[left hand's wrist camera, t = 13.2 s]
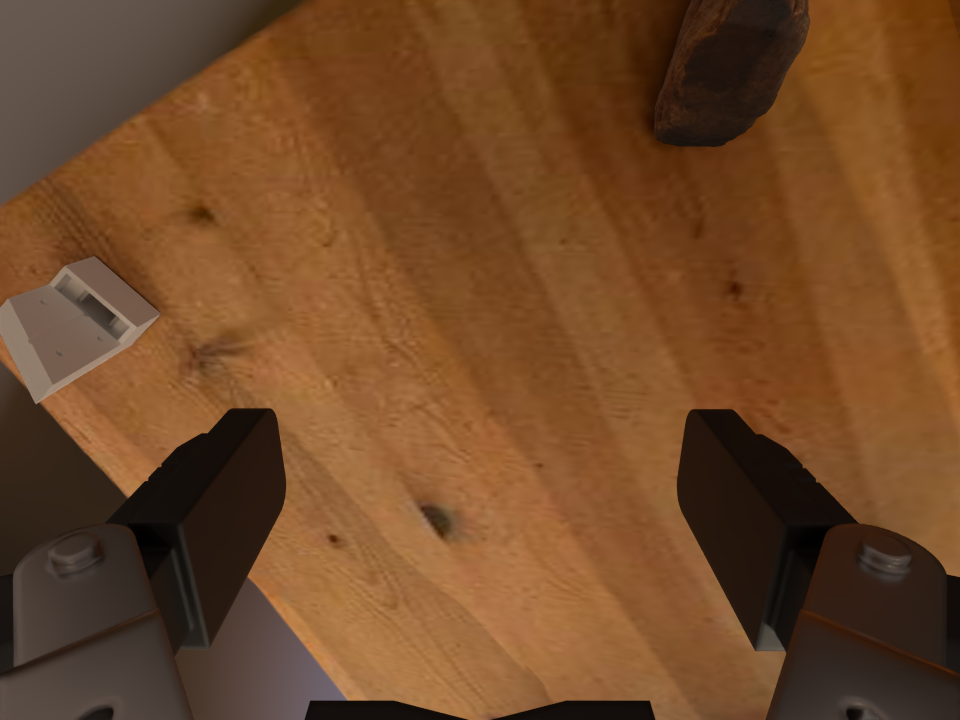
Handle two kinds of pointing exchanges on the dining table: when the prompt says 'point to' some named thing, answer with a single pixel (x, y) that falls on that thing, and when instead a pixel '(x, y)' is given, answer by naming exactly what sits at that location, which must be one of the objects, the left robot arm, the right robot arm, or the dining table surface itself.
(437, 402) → the dining table surface
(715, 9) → the decorative rock
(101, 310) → the white wedge bracket
